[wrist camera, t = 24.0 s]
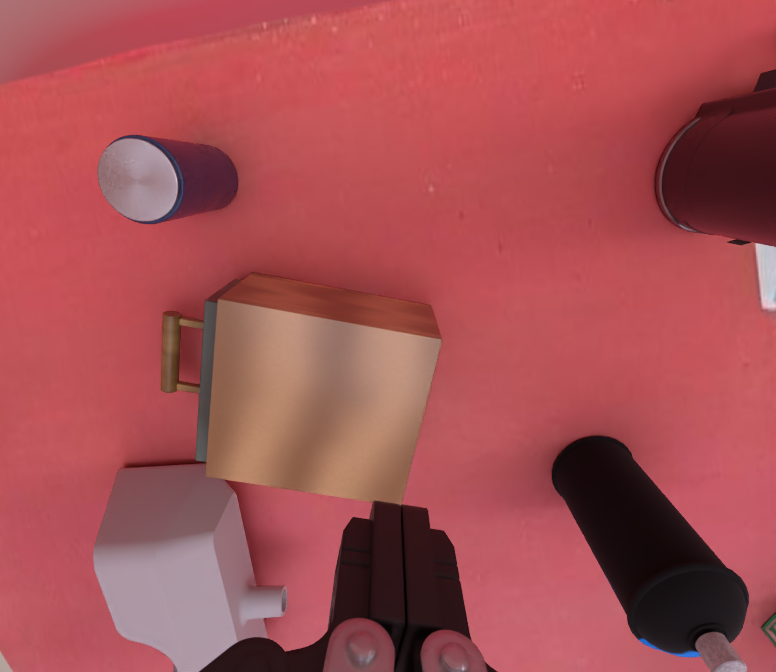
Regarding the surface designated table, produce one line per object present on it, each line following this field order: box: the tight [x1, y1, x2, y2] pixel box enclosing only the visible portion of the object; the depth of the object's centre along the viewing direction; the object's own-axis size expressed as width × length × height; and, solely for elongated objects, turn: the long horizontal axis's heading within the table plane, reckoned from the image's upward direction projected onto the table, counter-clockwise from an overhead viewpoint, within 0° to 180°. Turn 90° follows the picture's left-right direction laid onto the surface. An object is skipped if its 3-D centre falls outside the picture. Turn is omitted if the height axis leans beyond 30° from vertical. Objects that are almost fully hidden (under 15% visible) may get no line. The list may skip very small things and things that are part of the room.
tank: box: [93, 463, 287, 672], centre depth 44 cm, size 25×16×12 cm, turn 4°
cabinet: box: [205, 272, 442, 505], centre depth 38 cm, size 16×15×9 cm
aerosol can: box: [552, 436, 749, 672], centre depth 37 cm, size 8×8×20 cm
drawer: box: [161, 279, 242, 462], centre depth 38 cm, size 20×14×7 cm
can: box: [97, 135, 238, 224], centre depth 32 cm, size 5×5×11 cm
